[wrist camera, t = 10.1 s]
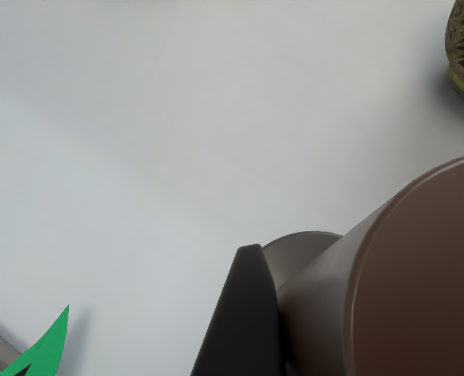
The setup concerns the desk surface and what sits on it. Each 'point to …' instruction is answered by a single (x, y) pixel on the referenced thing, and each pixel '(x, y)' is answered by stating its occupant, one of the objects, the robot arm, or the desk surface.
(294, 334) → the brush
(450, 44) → the cup
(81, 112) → the desk surface
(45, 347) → the knife
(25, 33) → the desk surface
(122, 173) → the desk surface
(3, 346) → the pen
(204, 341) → the robot arm
